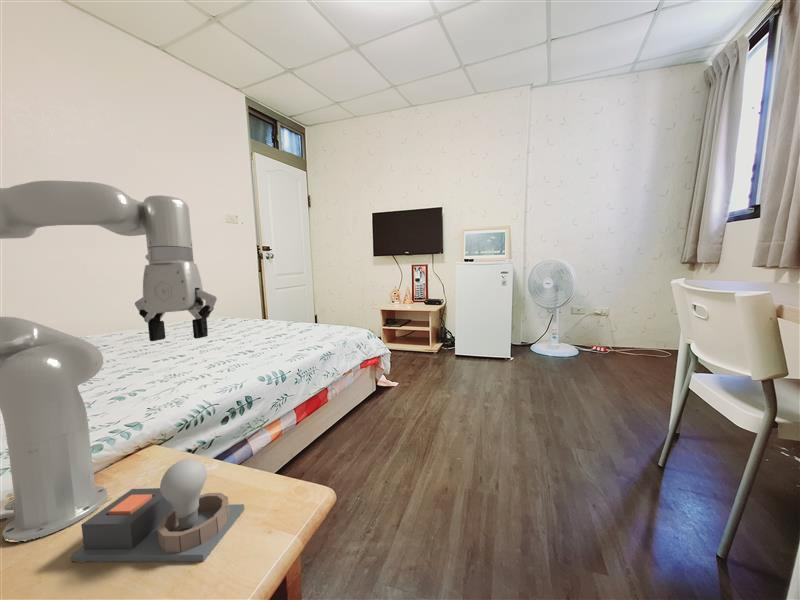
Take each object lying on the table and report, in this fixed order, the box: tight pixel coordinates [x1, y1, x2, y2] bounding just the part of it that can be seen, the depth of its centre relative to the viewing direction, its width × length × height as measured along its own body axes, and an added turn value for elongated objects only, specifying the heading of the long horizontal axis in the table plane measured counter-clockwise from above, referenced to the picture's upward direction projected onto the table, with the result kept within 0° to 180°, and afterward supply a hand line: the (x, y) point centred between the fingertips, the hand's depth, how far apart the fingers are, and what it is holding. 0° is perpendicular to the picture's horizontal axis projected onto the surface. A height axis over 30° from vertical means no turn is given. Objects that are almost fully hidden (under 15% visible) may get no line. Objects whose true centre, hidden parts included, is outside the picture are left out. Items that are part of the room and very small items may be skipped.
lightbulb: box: [159, 458, 208, 529], centre depth 48 cm, size 6×6×11 cm
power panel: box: [70, 487, 245, 563], centre depth 48 cm, size 21×10×5 cm, turn 87°
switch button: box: [108, 494, 152, 515], centre depth 49 cm, size 4×4×4 cm
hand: (179, 338), depth 62 cm, fingers open, 9 cm apart
